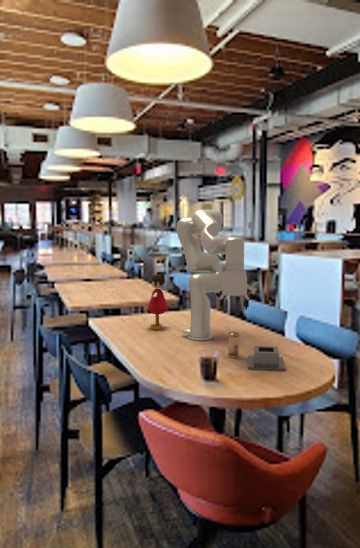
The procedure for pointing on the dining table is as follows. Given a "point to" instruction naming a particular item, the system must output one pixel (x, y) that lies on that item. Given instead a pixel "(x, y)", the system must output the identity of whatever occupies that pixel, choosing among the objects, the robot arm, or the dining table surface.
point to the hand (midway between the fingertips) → (234, 308)
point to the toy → (157, 299)
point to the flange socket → (266, 359)
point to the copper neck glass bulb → (233, 345)
